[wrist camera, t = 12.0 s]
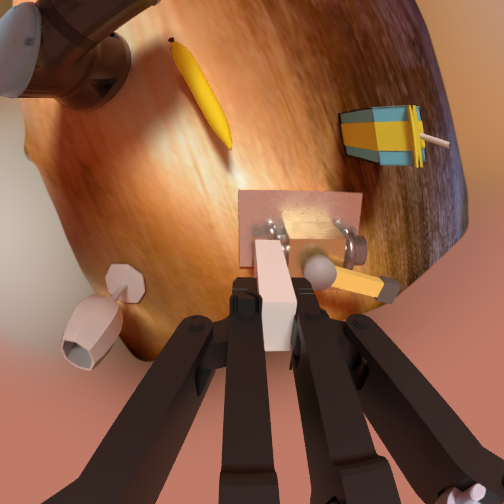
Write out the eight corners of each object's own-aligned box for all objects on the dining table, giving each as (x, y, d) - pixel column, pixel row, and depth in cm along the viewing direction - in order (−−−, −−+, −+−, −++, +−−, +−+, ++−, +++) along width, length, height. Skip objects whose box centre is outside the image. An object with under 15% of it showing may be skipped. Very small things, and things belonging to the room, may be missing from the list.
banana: (224, 152, 42) (220, 155, 36) (171, 53, 35) (160, 43, 29) (241, 143, 41) (240, 145, 36) (188, 45, 35) (178, 32, 29)
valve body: (239, 264, 49) (237, 293, 40) (238, 188, 44) (236, 203, 35) (351, 263, 49) (370, 290, 41) (360, 192, 44) (385, 207, 35)
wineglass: (143, 307, 53) (104, 385, 34) (105, 293, 52) (55, 362, 33) (150, 270, 50) (103, 345, 30) (108, 255, 49) (48, 320, 29)
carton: (387, 152, 42) (453, 168, 25) (345, 157, 42) (399, 174, 26) (381, 109, 39) (447, 104, 22) (337, 112, 39) (390, 103, 23)
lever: (297, 278, 39) (299, 286, 37) (308, 250, 38) (311, 256, 36) (385, 300, 41) (389, 307, 39) (397, 276, 39) (403, 282, 38)
